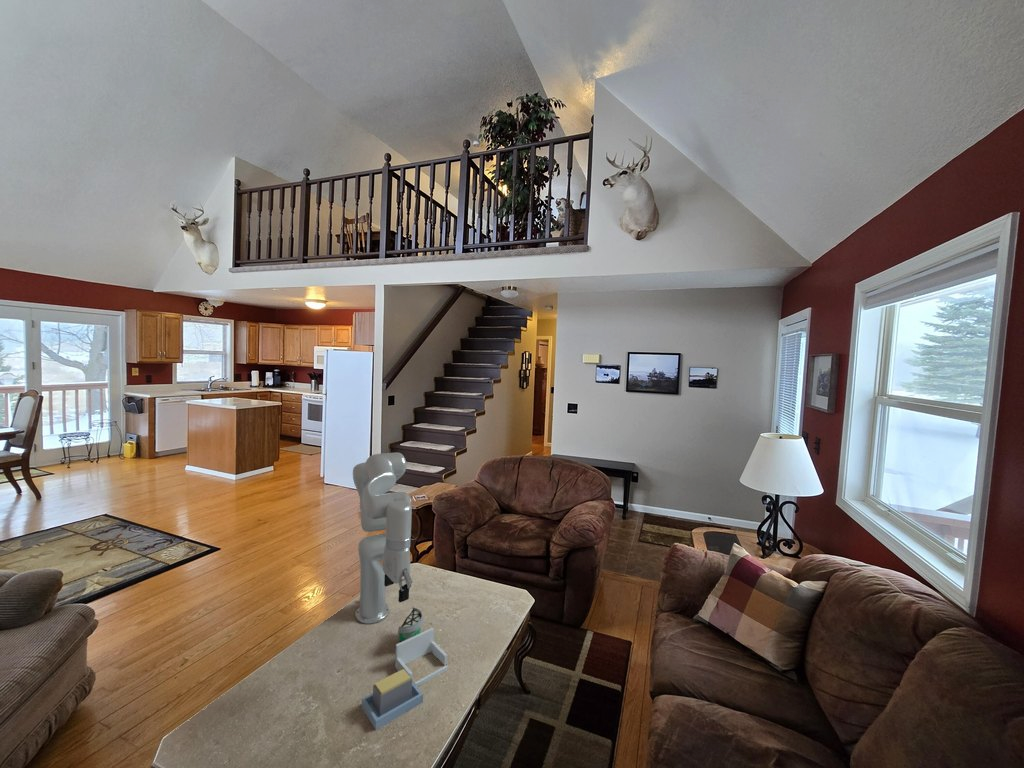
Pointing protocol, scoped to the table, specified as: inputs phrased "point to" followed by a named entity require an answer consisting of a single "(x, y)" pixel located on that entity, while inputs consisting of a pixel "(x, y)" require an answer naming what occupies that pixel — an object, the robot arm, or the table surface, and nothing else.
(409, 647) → the bay
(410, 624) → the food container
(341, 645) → the table surface
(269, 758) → the table surface
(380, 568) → the robot arm
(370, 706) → the tray
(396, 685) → the yellow-topped block
